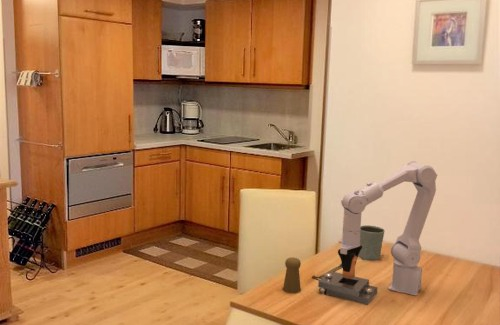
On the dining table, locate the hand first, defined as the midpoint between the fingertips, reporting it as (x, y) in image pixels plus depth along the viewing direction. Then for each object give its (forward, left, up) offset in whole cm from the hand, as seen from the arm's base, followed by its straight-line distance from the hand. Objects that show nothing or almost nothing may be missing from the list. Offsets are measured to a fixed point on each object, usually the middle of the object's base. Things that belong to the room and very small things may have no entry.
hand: (349, 268), depth 169 cm
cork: (+17, +8, -9) cm, 21 cm away
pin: (0, 0, -3) cm, 3 cm away
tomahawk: (+10, -15, -9) cm, 20 cm away
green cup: (+4, -39, -9) cm, 40 cm away
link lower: (-1, 0, -9) cm, 9 cm away
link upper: (+2, 0, -9) cm, 9 cm away
